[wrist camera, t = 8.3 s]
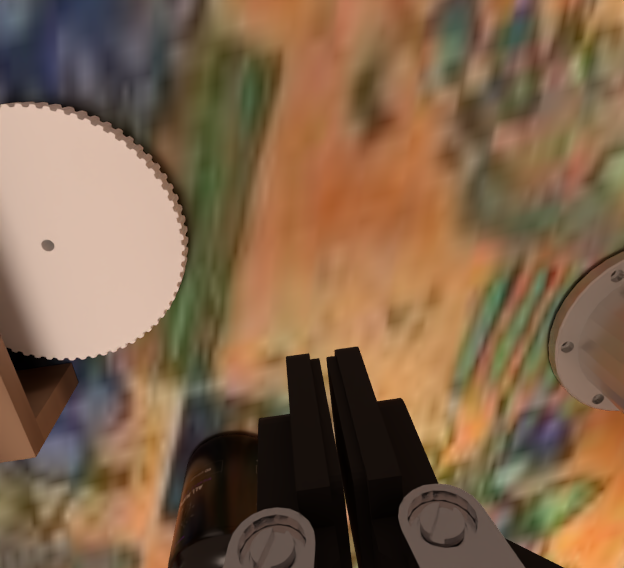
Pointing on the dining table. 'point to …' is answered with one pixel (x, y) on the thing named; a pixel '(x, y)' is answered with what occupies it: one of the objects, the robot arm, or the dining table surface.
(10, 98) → the dining table surface
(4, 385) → the walnut bridge
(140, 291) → the plastic lid
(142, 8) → the dining table surface
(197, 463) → the supplement bottle
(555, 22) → the dining table surface
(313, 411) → the robot arm
